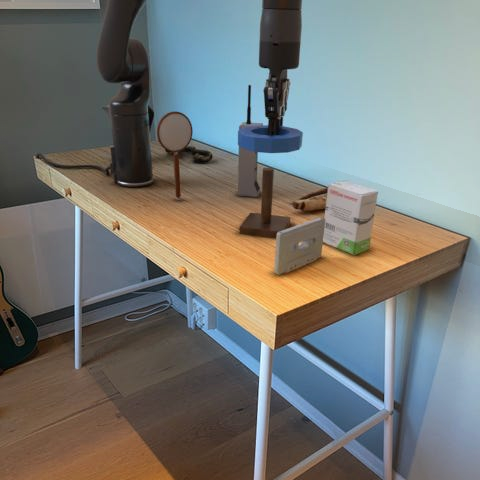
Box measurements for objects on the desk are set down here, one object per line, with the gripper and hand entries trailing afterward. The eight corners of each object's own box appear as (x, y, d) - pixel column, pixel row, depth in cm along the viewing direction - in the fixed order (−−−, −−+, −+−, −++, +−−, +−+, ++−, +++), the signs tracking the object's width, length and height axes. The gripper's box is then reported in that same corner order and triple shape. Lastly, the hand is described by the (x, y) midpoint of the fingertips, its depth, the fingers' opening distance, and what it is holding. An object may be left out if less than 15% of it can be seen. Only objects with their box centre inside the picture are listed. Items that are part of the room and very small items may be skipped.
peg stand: (239, 233, 102) (240, 172, 95) (250, 218, 109) (251, 161, 102) (282, 238, 100) (286, 177, 93) (290, 223, 107) (294, 165, 100)
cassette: (279, 276, 85) (282, 235, 81) (271, 272, 86) (274, 231, 82) (323, 257, 92) (328, 218, 88) (315, 254, 93) (320, 215, 89)
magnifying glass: (163, 204, 116) (157, 113, 105) (160, 202, 117) (154, 112, 106) (195, 198, 120) (193, 110, 109) (192, 196, 121) (189, 109, 110)
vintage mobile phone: (257, 197, 121) (261, 86, 108) (237, 196, 122) (239, 85, 109) (260, 193, 125) (264, 84, 111) (240, 191, 125) (242, 83, 112)
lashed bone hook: (334, 196, 125) (276, 206, 116) (336, 178, 122) (278, 186, 114) (360, 206, 118) (301, 217, 109) (363, 186, 116) (303, 196, 107)
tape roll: (231, 149, 92) (231, 135, 90) (247, 136, 102) (248, 123, 100) (294, 155, 89) (296, 140, 88) (305, 141, 99) (306, 127, 98)
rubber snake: (215, 145, 146) (184, 151, 142) (216, 161, 148) (186, 167, 144) (189, 135, 159) (160, 141, 155) (191, 150, 162) (163, 156, 158)
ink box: (369, 249, 96) (380, 190, 90) (353, 256, 93) (362, 195, 87) (336, 236, 101) (344, 179, 95) (320, 241, 99) (326, 183, 93)
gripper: (268, 36, 96) (264, 129, 105) (250, 39, 85) (248, 143, 94) (306, 38, 95) (299, 132, 104) (293, 41, 83) (286, 146, 92)
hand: (274, 137), depth 99 cm, fingers closed on tape roll, 2 cm apart
